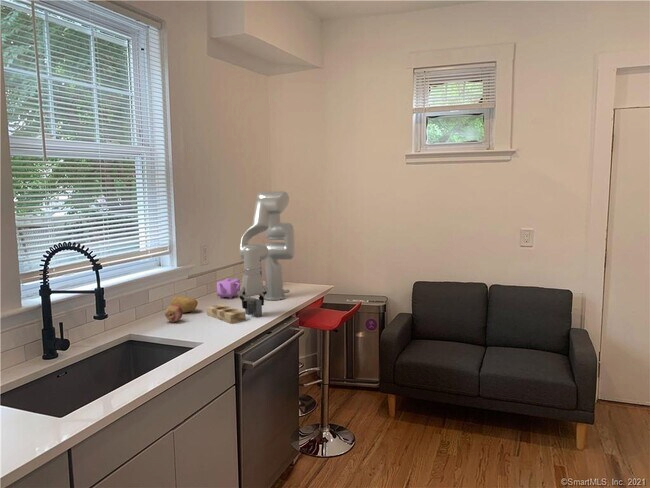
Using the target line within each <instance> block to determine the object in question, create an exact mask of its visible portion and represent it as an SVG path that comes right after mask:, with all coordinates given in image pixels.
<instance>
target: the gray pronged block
mask: <svg viewBox="0 0 650 488" xmlns="http://www.w3.org/2000/svg"><path fill="white" fill-rule="evenodd" d="M246 301H247V309H244V310H245V311H244V312H245V315H246V316H247V315H248V316H251V315H253V317H254V318H261V316H262V317H263V306H262V300H259V298H255V297H253V296H248V298H247V299H246Z"/></svg>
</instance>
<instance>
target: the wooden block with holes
mask: <svg viewBox="0 0 650 488" xmlns="http://www.w3.org/2000/svg"><path fill="white" fill-rule="evenodd" d="M206 315H207V316H208V317H211V318H214V319H217V320H220V321H223V322H226V323H228V324H235V323H239V322H243V321H246V314H245V311H243V310H241V309H237V308H234V307H231V306H228V305H225V304H221V303H220V304H215V305H211V306H210V305H209V306H207V307H206Z"/></svg>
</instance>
